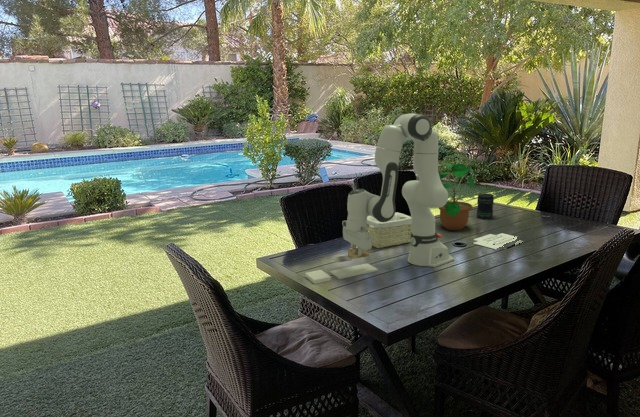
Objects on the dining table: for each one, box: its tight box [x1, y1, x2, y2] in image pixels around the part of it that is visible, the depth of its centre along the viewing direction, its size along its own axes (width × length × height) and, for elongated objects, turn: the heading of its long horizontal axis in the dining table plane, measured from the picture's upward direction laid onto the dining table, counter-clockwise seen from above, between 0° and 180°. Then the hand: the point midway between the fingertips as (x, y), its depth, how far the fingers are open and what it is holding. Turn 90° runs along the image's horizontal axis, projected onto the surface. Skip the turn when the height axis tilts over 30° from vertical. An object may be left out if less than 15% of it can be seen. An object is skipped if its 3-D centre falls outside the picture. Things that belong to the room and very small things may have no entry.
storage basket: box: [367, 211, 412, 249], centre depth 257 cm, size 24×16×15 cm
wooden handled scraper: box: [332, 247, 370, 263], centre depth 215 cm, size 17×5×4 cm, turn 116°
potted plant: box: [438, 163, 476, 231], centre depth 279 cm, size 31×29×40 cm
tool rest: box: [329, 262, 379, 280], centre depth 217 cm, size 20×9×1 cm, turn 116°
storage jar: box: [476, 193, 495, 221], centre depth 302 cm, size 10×10×15 cm
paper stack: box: [472, 232, 523, 250], centre depth 256 cm, size 20×28×4 cm
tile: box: [304, 269, 332, 285], centre depth 210 cm, size 2×10×8 cm
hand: (356, 254), depth 216 cm, fingers closed on wooden handled scraper, 2 cm apart
